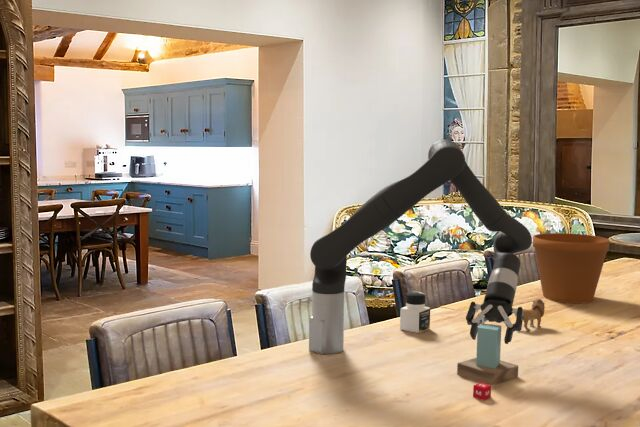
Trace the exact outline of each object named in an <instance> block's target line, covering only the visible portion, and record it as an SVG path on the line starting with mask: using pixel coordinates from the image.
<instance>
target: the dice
mask: <svg viewBox="0 0 640 427" xmlns="http://www.w3.org/2000/svg"><path fill="white" fill-rule="evenodd" d="M472 390H473V391H472V397H473V398H476V399H478V400H481V401H486V400H488V399H489V398H492V386H491V385H488V384H485V383H482V382H478V383H476V384H473V388H472Z"/></svg>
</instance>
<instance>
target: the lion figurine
mask: <svg viewBox="0 0 640 427" xmlns="http://www.w3.org/2000/svg"><path fill="white" fill-rule="evenodd" d="M545 308H546V306H545V302H544V301H543V299H540V298H535V299H534V300H533V301H532V304H531V308H530V309H527V308H522V309H523V313H524V314H523V322H524V323H523V328H524V329H525V331H530V332H531V329H530V328H529V327H534V325H535V324H534V320H537V321H536V322H537V324H536V327H537V328H538V329H542V326H541V322H542V318H543V317H544V315H545ZM529 322H530V323H529ZM528 323H529V327H528ZM514 324H516V321H515V322H514Z"/></svg>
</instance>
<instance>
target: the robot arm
mask: <svg viewBox="0 0 640 427" xmlns="http://www.w3.org/2000/svg"><path fill="white" fill-rule="evenodd" d="M427 157H428V158H427V161H425V162H424V163H423V164H422V165H421V166H420V167H419V168H418V169H417V170H415V171H414V172H413V173H411V174H409V175H408V176H406V177H405V176H404V178H401V179H398V180H396V181H394V182H391V183H390V184H389V185H386V186H384V187H383V188H382V189H380V190H379V191H378V192H376V193H375V194H374V195H372V196H371V197H370V198H368V200H367V201H365V202H364V203H363V204H362V205H361V206H359V208H358V209H356V210H355V212H354V213H353V214H351V216H350V217H349V218H348V219H347V220H346V221H345V222H344V223H342V224H341V225H340V226H338V227H336V228H335V229H333V230H332V231H330V232H329V233H327V234H325V235H323V236H321V237H320V238H318V239H316V241H314V243H313V244H312V246H311V249H310V253H309V254H310V255H309V257H310V261H311V262H312V264H313V265H314V275H313V279H312V286H311V287H312V288H311V290H312V291H311V293H312V294H311V317H309V318H308V350H309V351H312V352H315V353H318V354H320V355H326V354H327V355H329V354H332V355H333V354H338V353H342V352H343V351H344V338H345V337H344V335H345V334H344V332H345V330H344V329H345V288H346V287H345V286H346V280H347V262H348V260H347V259H348V258H347V257H348V255H349V254H350V253H351V252H352V251H353V250H355V249H356V248H358V246H359V245H361V244H362V243H364V242H366V241H367V240H369V239H370V238H372V237H373V236H375V235H377V234H379V233H380V232H383V230H384V229H387V228H388V227H389V226H391V225H392V224H393V223H394V222H396V221H398V220H399V219H400V218H401V217H402V216H404V215H405V214H406V213H407V212H408V211H410V209H412V208H413V207H414V206H416V205H417V204H418V203H419V202H421V201H422V200H423V199H424V198H426V197H427V196H428V195H429V194H431V193H432V192H434V191H435V190H436V189H438V188H440V187H442V186H443V185H445V184H447V183H448V182H449V181H450V183H451V184H452V185H453V186H454V188H456V189H457V191H458V192H459V194H460V195H461V196H462V198H463V200H465V202H466V204H467V206H468V207H469V208H470V209H471V211H472V212H473V213H474V215H475V216H476V217H477V219H478V220H479V222H481V224H482V225H483V226H484V227H485V228H486V229H487V231H490V232H492V233H493V232H498V233H497V234H496V235H495V237H494V239H493V243H492V244H493V245H492V246H493V257H494V262H493V266H492V270H491V272H490V276H489V278H488V281H487V285H486V286H487V287H486V291H485V295H484V299H483V302H482V303H481V304H479V303H476V302H475V301H471V302H470V304H469V307H468V310H467V313H466V317H465V320H466V323H467V325H468V326H470V331H469V336H470V338H471V339H472V340H473V341H476V340H477V330H478V327H479V326H480V325H481V324H482V323H484V324H486V322H488V323H493V322H494V323H497V324H501V323H503V324H504V325H505V327H506V331H505V335H504V339H503V340H504V344H505V345H509V343H511V342H512V340H513V334H514V332H516V331H518V332H521V331H522V328H523V327H522V326H523V322H524V321H523V314H524V313H523V309H524V308H523V307H522V306H518V307H517V308H515V307H513V305H514V302H515V297H516V292H517V287H518V278H519V272H520V268H521V260H520V258H519V257H518V256H517V255H516V253H517V254H518V253H520V252H523V251H527V250H528V249H529V248H531V246H532V245H533V236H532V234H531V232H530V231H529V229H528V227H526V226H525V225H524V224H523V223H521V222H520V221H519V220H517V219H516V218H515V217H513V216H512V215H511V214H509V213H507V212H506V210H505V209H504V208H503V206H502V205H501V204H500V203H499V202H498V200H497V199H496V198H495V197H494V195H493V194H492V193H491V192H490V191H489V190H488V189H487V188H486V186H485V185H483V183H482V182H481V181H480V180H479V178H478V177H477V176H476V175H475V174H474V172H473V171H472V170H471V168H470V167H469V165H468V163H467V161H466V157H465V153H464V152H463V150H462V148H461V147H460V146H459V145H458V144H457V143H456V142H454V141H453V140H450V139H446V138H445V139H439V140H436V141H435V142H433V143H432V144H431V145H430V148H429V150H428V154H427ZM479 310H481V311H480V312H478V311H479ZM476 313H478V314H477V315H475V314H476ZM513 314H514V317H516V318H515V319H516V320H515V322H516V324H515V323H512V322H511V320H510V317H511V316H512V315H513Z"/></svg>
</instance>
